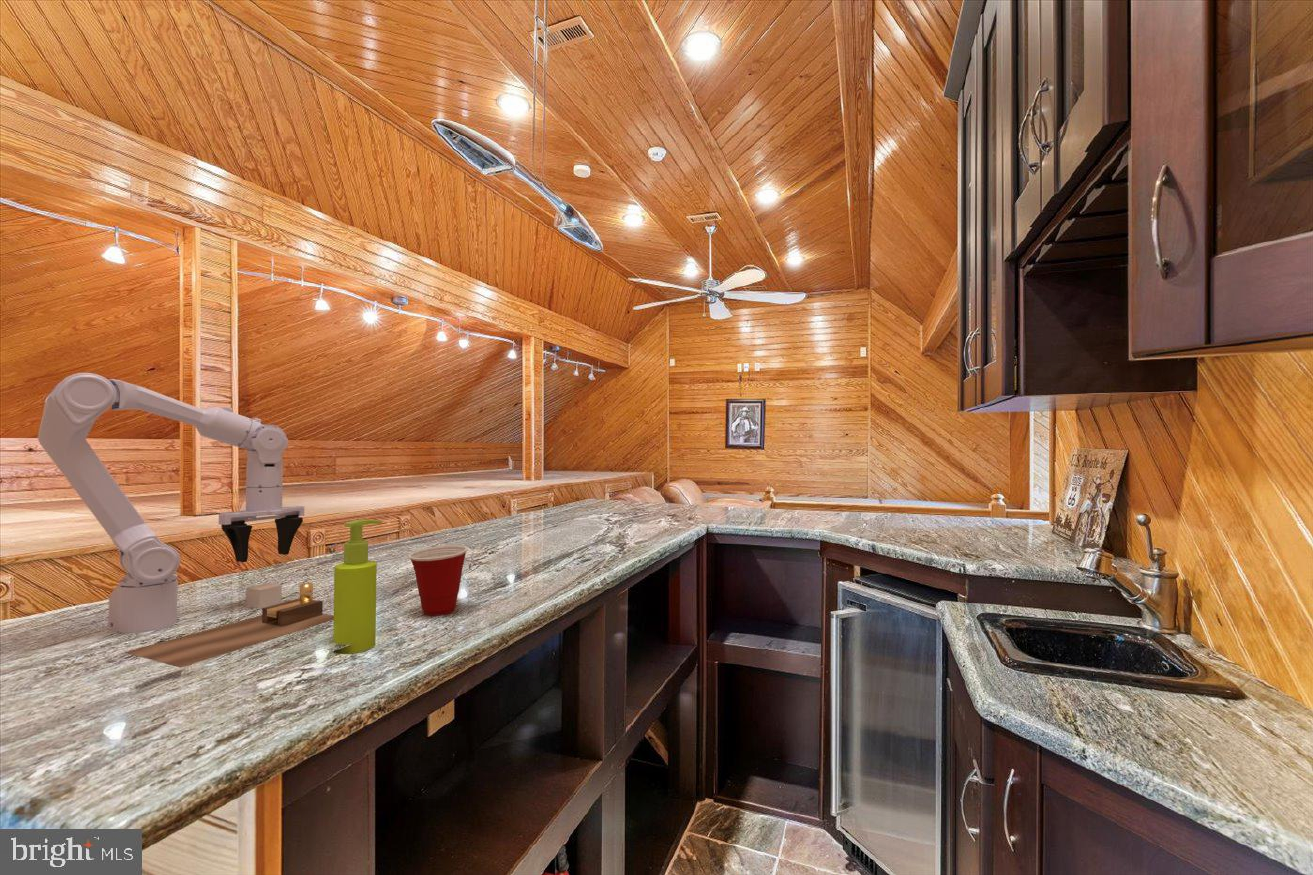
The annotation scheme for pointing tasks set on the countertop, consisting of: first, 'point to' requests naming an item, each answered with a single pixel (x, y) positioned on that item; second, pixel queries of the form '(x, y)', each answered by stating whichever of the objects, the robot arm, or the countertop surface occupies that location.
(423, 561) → the plastic cup
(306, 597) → the brass bolt
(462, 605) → the countertop surface
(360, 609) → the soap dispenser
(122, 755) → the countertop surface
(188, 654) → the box base
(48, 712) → the countertop surface
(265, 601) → the cover
